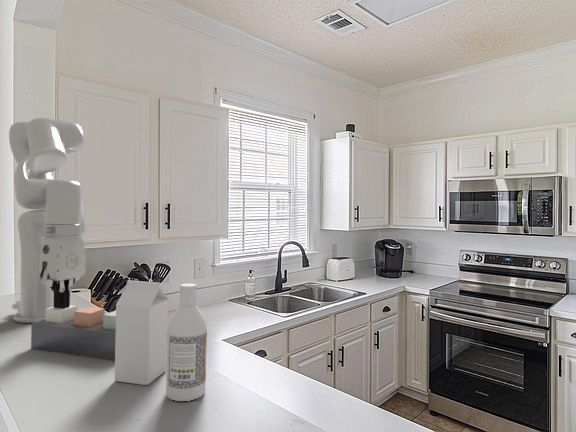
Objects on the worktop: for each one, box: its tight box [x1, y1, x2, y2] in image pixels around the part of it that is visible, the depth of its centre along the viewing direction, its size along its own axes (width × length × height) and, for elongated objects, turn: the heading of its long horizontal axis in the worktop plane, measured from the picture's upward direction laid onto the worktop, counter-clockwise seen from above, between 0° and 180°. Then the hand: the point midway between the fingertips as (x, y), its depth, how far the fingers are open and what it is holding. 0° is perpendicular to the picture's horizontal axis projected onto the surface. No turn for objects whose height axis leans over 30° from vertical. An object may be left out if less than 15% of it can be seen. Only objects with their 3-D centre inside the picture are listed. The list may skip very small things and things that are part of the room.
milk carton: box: [114, 279, 169, 386], centre depth 79 cm, size 7×7×19 cm
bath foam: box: [165, 283, 208, 402], centre depth 72 cm, size 7×7×20 cm
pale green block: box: [103, 310, 116, 330], centre depth 92 cm, size 5×5×6 cm
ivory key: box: [46, 304, 78, 323], centre depth 96 cm, size 5×5×6 cm
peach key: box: [74, 306, 106, 327], centre depth 94 cm, size 5×5×6 cm
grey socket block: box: [30, 319, 116, 362], centre depth 94 cm, size 23×10×6 cm, turn 76°
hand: (61, 307), depth 96 cm, fingers closed
